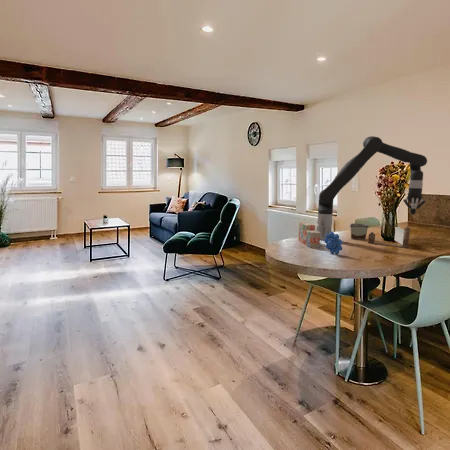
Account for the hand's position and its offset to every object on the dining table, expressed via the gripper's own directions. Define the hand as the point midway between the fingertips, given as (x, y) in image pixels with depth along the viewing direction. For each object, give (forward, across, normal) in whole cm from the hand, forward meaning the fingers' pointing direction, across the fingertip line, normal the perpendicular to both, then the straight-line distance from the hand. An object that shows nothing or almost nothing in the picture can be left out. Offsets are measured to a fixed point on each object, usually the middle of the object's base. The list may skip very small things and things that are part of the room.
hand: (412, 214), depth 221 cm
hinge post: (+19, -6, -18) cm, 26 cm away
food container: (+19, -32, +4) cm, 37 cm away
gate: (+18, -7, -6) cm, 20 cm away
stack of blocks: (+19, -63, -29) cm, 72 cm away
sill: (+19, -15, -13) cm, 27 cm away
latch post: (+19, -24, -10) cm, 33 cm away
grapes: (+19, -50, -51) cm, 74 cm away
